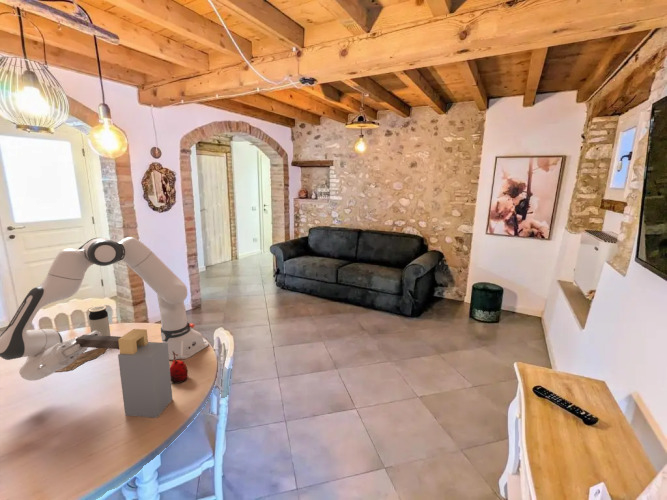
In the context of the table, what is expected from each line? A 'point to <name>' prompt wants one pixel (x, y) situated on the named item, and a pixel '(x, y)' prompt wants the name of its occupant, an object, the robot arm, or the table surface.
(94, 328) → the travel mug
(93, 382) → the table surface
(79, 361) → the wooden fragment
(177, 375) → the red clay folk toy
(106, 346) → the block
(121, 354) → the post
